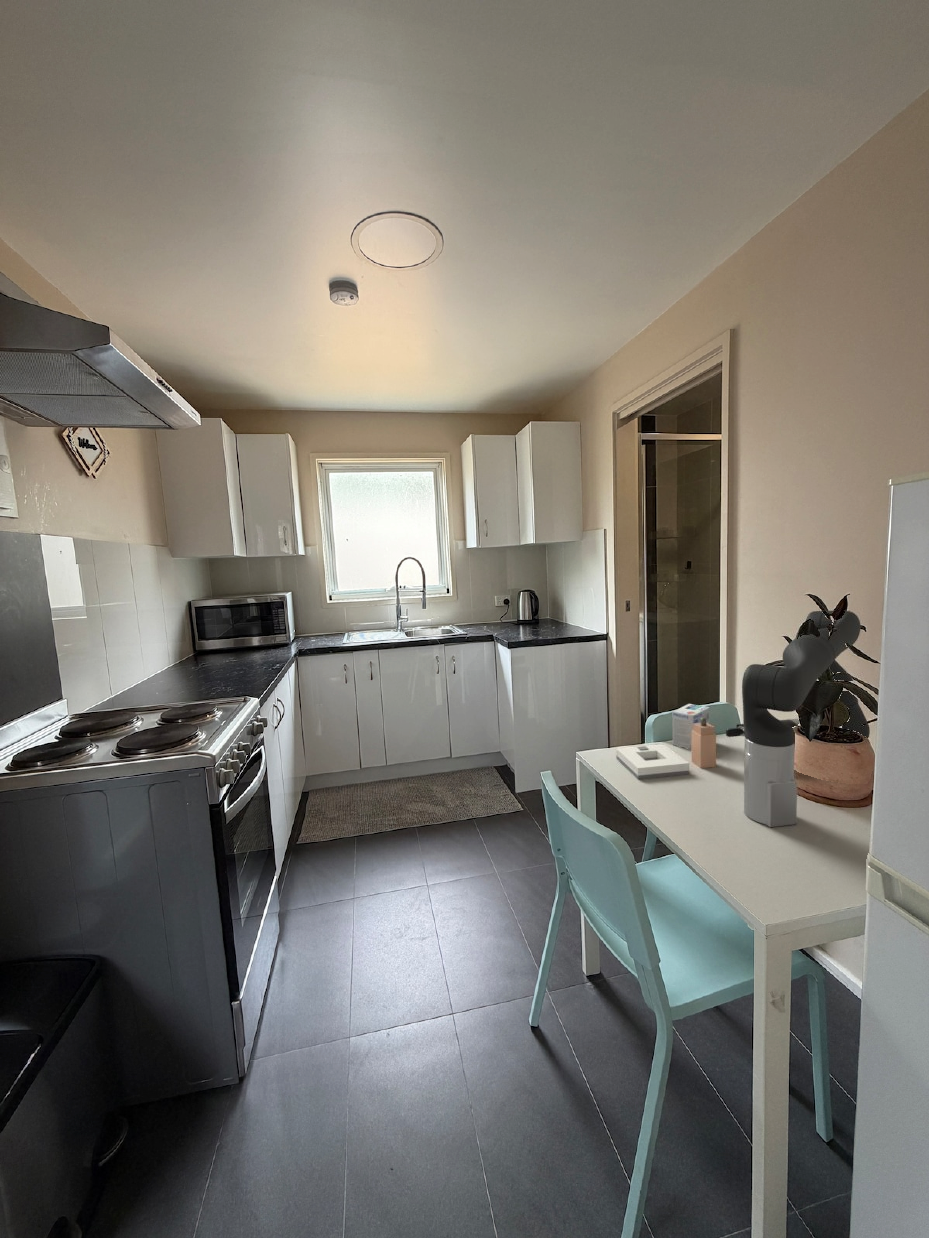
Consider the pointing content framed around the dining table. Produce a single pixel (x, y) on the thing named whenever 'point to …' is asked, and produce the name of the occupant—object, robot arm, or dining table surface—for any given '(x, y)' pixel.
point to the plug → (703, 744)
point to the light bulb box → (687, 723)
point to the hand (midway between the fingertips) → (736, 738)
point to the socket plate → (652, 761)
